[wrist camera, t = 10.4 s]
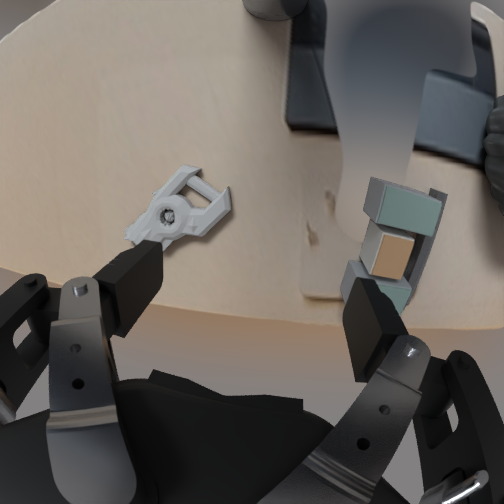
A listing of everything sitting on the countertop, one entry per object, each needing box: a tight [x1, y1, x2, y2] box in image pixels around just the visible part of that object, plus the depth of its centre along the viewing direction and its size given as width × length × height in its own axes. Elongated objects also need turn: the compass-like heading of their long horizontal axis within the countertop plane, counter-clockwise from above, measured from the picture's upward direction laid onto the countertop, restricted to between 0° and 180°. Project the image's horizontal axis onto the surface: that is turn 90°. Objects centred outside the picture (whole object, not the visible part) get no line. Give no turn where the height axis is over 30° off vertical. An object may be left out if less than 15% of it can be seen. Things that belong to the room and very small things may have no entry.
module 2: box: [360, 219, 414, 280], centre depth 35 cm, size 6×5×6 cm
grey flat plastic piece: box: [124, 165, 232, 251], centre depth 39 cm, size 18×4×10 cm
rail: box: [403, 188, 448, 310], centre depth 36 cm, size 20×3×2 cm, turn 172°
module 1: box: [363, 177, 442, 237], centre depth 32 cm, size 5×9×6 cm, turn 82°
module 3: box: [340, 260, 412, 316], centre depth 38 cm, size 5×9×6 cm, turn 82°
